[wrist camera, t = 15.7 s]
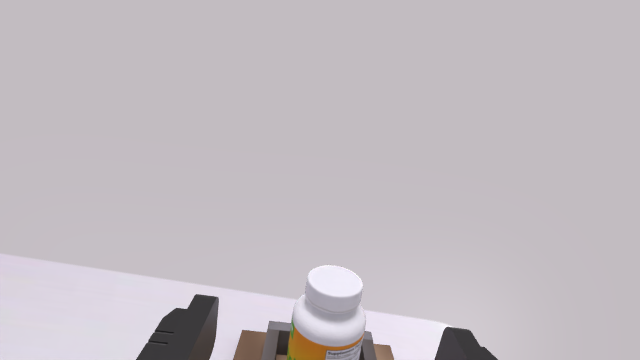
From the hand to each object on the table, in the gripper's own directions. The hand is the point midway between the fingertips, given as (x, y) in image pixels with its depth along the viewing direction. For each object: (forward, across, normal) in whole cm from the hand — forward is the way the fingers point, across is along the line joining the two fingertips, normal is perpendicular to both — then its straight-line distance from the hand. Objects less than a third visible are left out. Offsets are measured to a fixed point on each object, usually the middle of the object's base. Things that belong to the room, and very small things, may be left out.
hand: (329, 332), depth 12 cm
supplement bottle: (+11, -2, +15) cm, 18 cm away
